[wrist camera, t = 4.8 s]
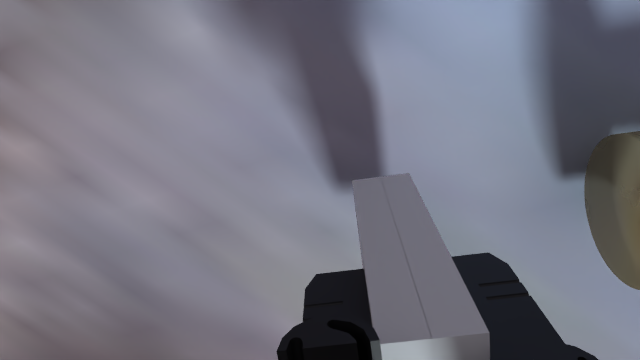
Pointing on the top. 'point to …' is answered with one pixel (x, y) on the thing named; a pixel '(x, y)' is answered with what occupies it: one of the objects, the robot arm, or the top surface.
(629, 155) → the pin
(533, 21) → the top surface
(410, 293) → the robot arm
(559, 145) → the top surface
